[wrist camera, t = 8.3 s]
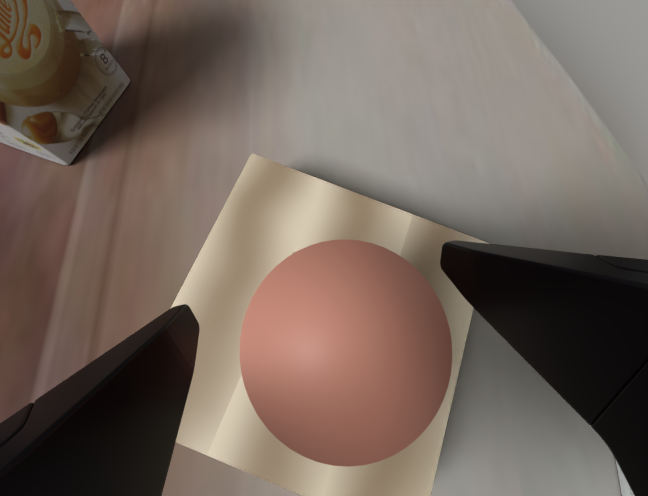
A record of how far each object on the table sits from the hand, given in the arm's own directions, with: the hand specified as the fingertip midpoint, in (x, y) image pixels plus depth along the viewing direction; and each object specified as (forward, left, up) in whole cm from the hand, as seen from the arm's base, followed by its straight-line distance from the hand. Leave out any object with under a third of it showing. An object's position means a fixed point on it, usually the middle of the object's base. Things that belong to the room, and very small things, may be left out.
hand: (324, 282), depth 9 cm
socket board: (-1, +1, -11) cm, 11 cm away
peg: (-1, +1, -11) cm, 11 cm away
